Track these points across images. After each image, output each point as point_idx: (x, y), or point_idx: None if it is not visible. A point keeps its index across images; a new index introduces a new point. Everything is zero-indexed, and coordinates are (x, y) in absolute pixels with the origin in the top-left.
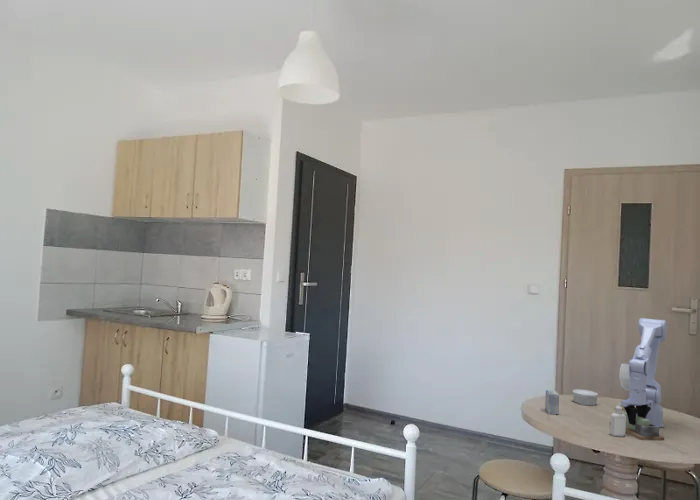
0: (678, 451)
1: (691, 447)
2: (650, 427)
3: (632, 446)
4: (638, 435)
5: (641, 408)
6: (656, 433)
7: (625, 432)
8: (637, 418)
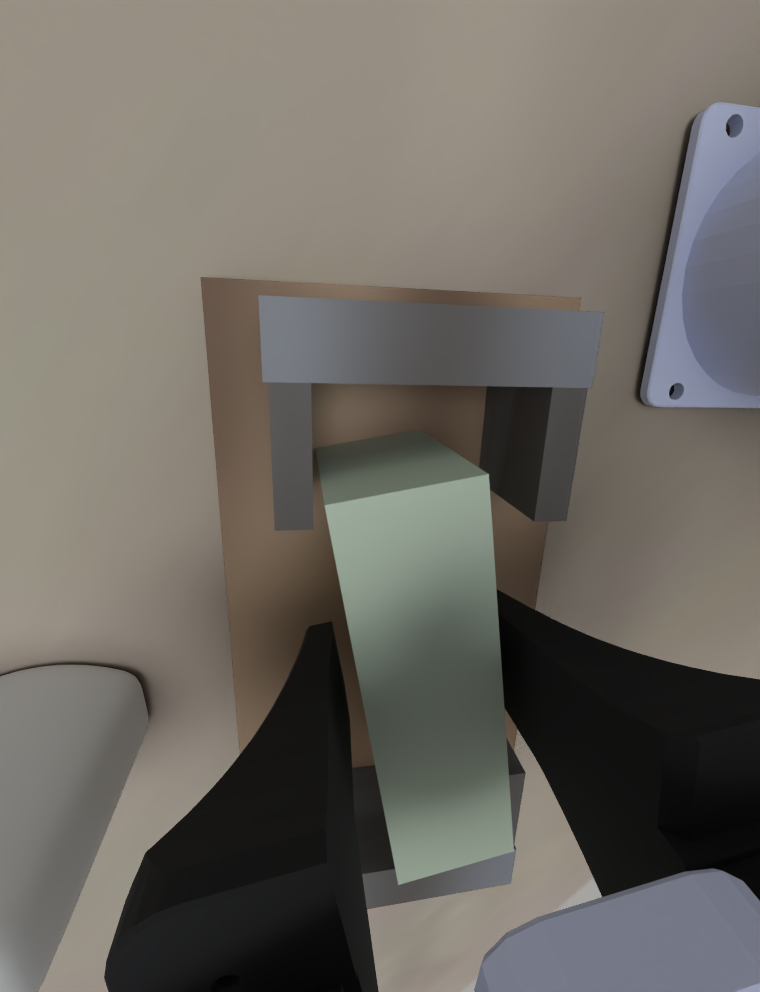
0: (392, 968)
1: (574, 878)
2: (391, 901)
3: None
4: None
5: (629, 855)
6: None
7: (140, 745)
8: (380, 792)
